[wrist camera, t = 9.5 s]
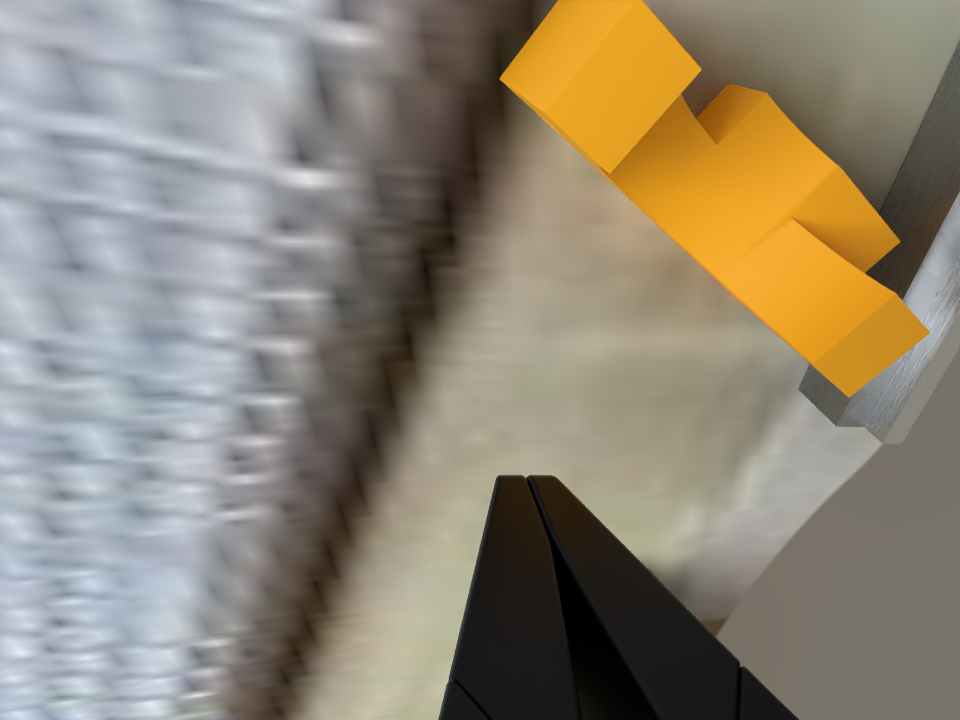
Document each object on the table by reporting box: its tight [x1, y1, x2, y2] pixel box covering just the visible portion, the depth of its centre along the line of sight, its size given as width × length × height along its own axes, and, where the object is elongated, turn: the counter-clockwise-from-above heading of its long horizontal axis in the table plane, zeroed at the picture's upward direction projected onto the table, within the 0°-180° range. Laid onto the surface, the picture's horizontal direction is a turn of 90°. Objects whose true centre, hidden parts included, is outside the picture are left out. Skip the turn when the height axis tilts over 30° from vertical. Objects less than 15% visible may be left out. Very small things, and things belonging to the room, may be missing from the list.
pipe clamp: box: [499, 0, 930, 398], centre depth 16 cm, size 12×4×6 cm, turn 50°
